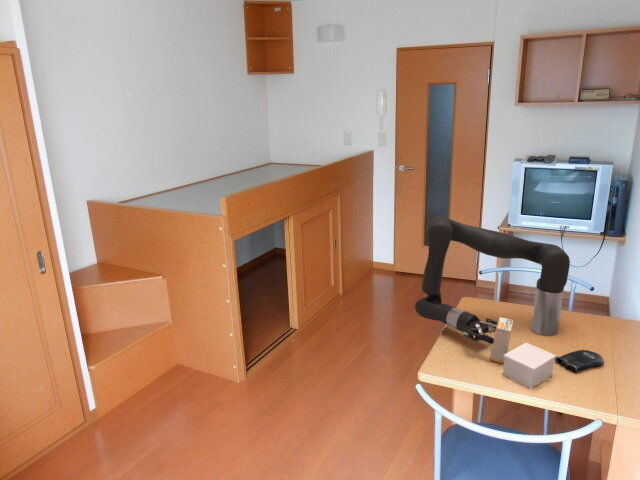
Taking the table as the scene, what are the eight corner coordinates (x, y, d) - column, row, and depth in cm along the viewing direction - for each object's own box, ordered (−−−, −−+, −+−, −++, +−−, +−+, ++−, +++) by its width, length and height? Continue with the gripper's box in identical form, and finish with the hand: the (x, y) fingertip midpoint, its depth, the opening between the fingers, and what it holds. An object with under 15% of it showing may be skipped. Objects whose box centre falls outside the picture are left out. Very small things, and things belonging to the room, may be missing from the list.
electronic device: (577, 381, 159) (610, 364, 164) (576, 365, 158) (609, 349, 163) (554, 369, 168) (586, 354, 173) (552, 355, 167) (585, 340, 172)
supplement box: (504, 364, 166) (511, 331, 161) (489, 360, 168) (496, 327, 163) (506, 351, 173) (514, 319, 168) (492, 348, 175) (499, 316, 170)
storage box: (523, 361, 168) (526, 342, 166) (553, 375, 160) (556, 355, 158) (501, 374, 161) (503, 354, 159) (531, 389, 153) (534, 369, 151)
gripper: (449, 317, 176) (488, 334, 164) (475, 306, 184) (514, 321, 172) (448, 335, 178) (487, 354, 166) (473, 324, 186) (512, 340, 174)
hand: (500, 337), depth 169 cm, fingers open, 8 cm apart
